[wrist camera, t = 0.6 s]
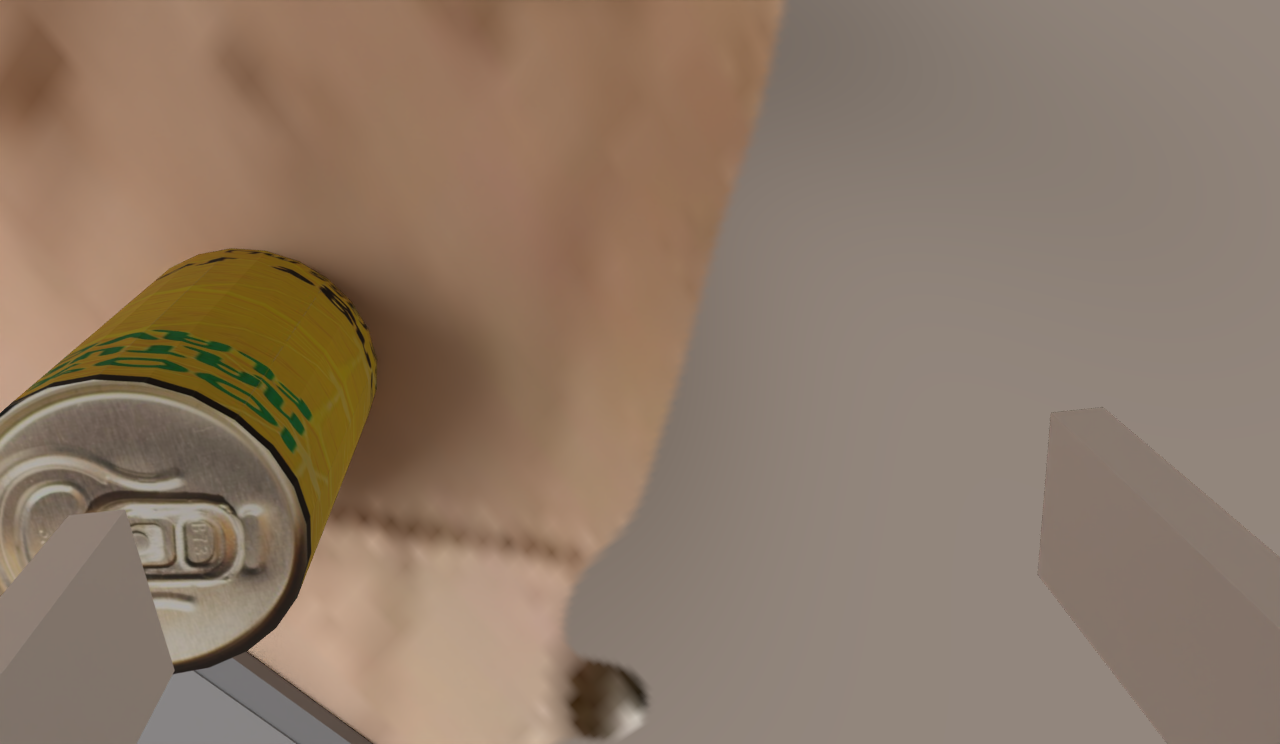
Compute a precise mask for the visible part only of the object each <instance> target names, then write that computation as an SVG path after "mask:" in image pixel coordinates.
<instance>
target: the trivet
mask: <svg viewBox="0 0 1280 744" xmlns="http://www.w3.org/2000/svg"><path fill="white" fill-rule="evenodd" d="M137 744H372V743H371V742H369V741H368V740H366V739H365V738H364V737H362V736H361V735H360V734H358V733H357V732H355V731H354V730H353V729H351V728H350V727H349V726H347V725H346V724H344V723H343V722H342V721H340V720H339V719H338V718H336V717H335V716H334V715H332V714H331V713H329V712H328V711H327V710H325V709H324V708H323V707H321V706H320V705H318V704H317V703H316V702H314V701H313V700H312V699H310V698H309V697H307V696H306V695H305V694H303V693H302V692H301V691H299V690H298V689H297V688H295V687H294V686H292V685H291V684H290V683H288V682H287V681H286V680H284V679H283V678H281V677H280V676H279V675H277V674H276V673H275V672H273V671H272V670H270V669H269V668H268V667H266V666H265V665H264V664H262V663H261V662H260V661H258V660H257V659H255V658H254V657H253V656H251V655H250V654H249V653H247V652H244V653H242V654H240V655H237V656H235V657H233V658H230V659H228V660H226V661H224V662H221V663H219V664H217V665H214V666H212V667H210V668H205V669H199V670H194V671H188V672H183V673H177V674H173V675H172V676H171V678H170V680H169V682H168V684H167V686H166V688H165V690H164V692H163V694H162V696H161V698H160V700H159V702H158V703H157V705H156V707H155V709H154V711H153V713H152V715H151V717H150V719H149V721H148V723H147V725H146V727H145V729H144V730H143V732H142V734H141V736H140V738H139V740H138V742H137Z"/></svg>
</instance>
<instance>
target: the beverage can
mask: <svg viewBox="0 0 1280 744" xmlns="http://www.w3.org/2000/svg"><path fill="white" fill-rule="evenodd" d="M376 389H377V358H376V355H375V351H374V348H373V344H372V341H371V337H370V334H369V330H368V329H367V327H366V325H365V324H364V322H363V320H362V319H361V317H360V315H359V314H358V312H357V310H356V309H355V307H354V305H353V304H352V302H351V301H350V300H349V299H348V298H347V297H346V296H345V295H344V294H343V293H342V292H341V291H340V290H339V289H338V288H337V287H336V286H335V285H334V284H332V283H331V282H330V281H329V280H328V279H327V278H325V277H324V276H322V275H320V274H319V273H317V272H315V271H314V270H312V269H310V268H309V267H307V266H305V265H304V264H302V263H300V262H299V261H295V260H292V259H289V258H286V257H283V256H280V255H277V254H274V253H270V252H267V251H259V250H245V249H226V250H221V251H215V252H210V253H204V254H199V255H197V256H195V257H192V258H190V259H188V260H186V261H184V262H182V263H180V264H178V265H176V266H174V267H172V268H170V269H169V270H167V271H166V272H165V273H164V274H163V275H162V276H160V277H159V278H158V279H157V280H156V281H154V282H153V283H152V284H151V285H150V286H149V287H147V288H146V289H145V290H144V291H143V292H142V293H140V294H139V295H138V296H137V297H136V298H135V299H133V300H132V301H131V302H130V303H129V304H127V305H126V306H125V307H124V308H123V309H122V310H120V311H119V312H118V313H117V314H116V315H115V316H113V317H112V318H111V319H110V320H109V321H107V322H106V323H105V324H104V325H103V326H102V327H100V328H99V329H98V330H97V331H96V332H95V333H93V334H92V335H91V336H90V337H89V338H88V339H86V340H85V341H84V342H83V343H82V344H80V345H79V346H78V347H77V348H76V349H75V350H73V351H72V352H71V353H70V354H69V355H68V356H66V357H65V358H64V359H63V360H62V361H60V362H59V363H58V364H57V365H56V366H55V367H53V368H52V369H51V370H50V371H49V372H48V373H46V374H45V375H44V376H43V377H42V378H41V379H39V380H38V381H37V382H36V383H35V384H33V385H32V386H31V387H30V388H29V389H28V390H26V391H25V392H24V393H23V394H22V395H21V396H19V397H18V398H17V399H16V400H15V401H13V402H12V403H11V404H10V405H9V406H8V407H6V408H5V409H4V410H3V411H2V412H1V413H0V597H1V595H2V594H3V593H4V592H5V591H6V590H7V588H8V587H9V586H10V585H11V584H12V582H13V581H14V580H15V579H16V578H17V576H18V575H19V574H20V573H21V572H22V571H23V569H24V568H25V567H26V566H27V565H28V563H29V562H30V561H31V560H32V559H33V557H34V556H35V555H36V554H37V553H38V552H39V550H40V549H41V548H42V547H43V546H44V544H45V543H46V542H47V541H48V540H49V538H50V537H51V536H52V535H53V534H54V533H55V531H56V530H57V529H58V528H59V527H60V525H61V524H62V523H63V522H64V521H65V519H66V518H67V517H68V516H69V515H77V514H86V513H96V512H105V511H115V510H124V509H125V510H126V514H127V517H128V520H129V523H130V527H131V530H132V533H133V536H134V540H135V543H136V546H137V549H138V553H139V556H140V559H141V562H142V566H143V569H144V572H145V576H146V579H147V582H148V585H149V589H150V592H151V595H152V598H153V602H154V605H155V608H156V611H157V615H158V618H159V621H160V624H161V628H162V631H163V634H164V637H165V641H166V644H167V647H168V650H169V654H170V657H171V660H172V663H173V667H174V670H175V671H174V673H173V674H177V673H183V672H188V671H194V670H199V669H205V668H210V667H212V666H214V665H217V664H219V663H221V662H224V661H226V660H228V659H230V658H233V657H235V656H237V655H240V654H242V653H244V652H246V651H248V650H249V649H250V648H251V647H253V646H254V645H255V644H256V643H258V642H259V641H260V640H261V639H263V638H264V637H265V636H266V635H268V634H269V633H270V632H271V631H273V630H274V629H275V628H276V627H277V626H278V624H279V623H280V621H281V620H282V619H283V617H284V616H285V614H286V613H287V611H288V610H289V609H290V607H291V606H292V604H293V603H294V601H295V600H296V598H297V596H298V594H299V591H300V589H301V586H302V584H303V581H304V579H305V576H306V573H307V571H308V568H309V566H310V563H311V561H312V558H313V555H314V553H315V550H316V548H317V545H318V543H319V540H320V538H321V535H322V532H323V530H324V527H325V525H326V522H327V520H328V517H329V515H330V512H331V509H332V507H333V504H334V502H335V499H336V497H337V494H338V492H339V489H340V486H341V484H342V481H343V479H344V476H345V474H346V471H347V469H348V466H349V463H350V461H351V458H352V456H353V453H354V451H355V448H356V445H357V443H358V440H359V438H360V435H361V433H362V430H363V428H364V425H365V422H366V420H367V417H368V415H369V411H370V408H371V405H372V402H373V398H374V395H375V392H376Z"/></svg>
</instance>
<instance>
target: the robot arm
mask: <svg viewBox="0 0 1280 744" xmlns="http://www.w3.org/2000/svg"><path fill="white" fill-rule="evenodd" d="M1038 576H1039V577H1040V578H1041V579H1042V581H1043V582H1044V584H1045V585H1046V586H1047V587H1048V589H1049V590H1050V591H1051V593H1052V594H1053V595H1054V597H1055V598H1056V599H1057V601H1058V602H1059V603H1060V604H1061V606H1062V607H1063V608H1064V610H1065V611H1066V612H1067V614H1068V615H1069V616H1070V617H1071V619H1072V620H1073V621H1074V623H1075V624H1076V625H1077V627H1078V628H1079V629H1080V631H1081V632H1082V633H1083V634H1084V636H1085V637H1086V638H1087V639H1088V641H1089V642H1090V643H1091V645H1092V646H1093V648H1094V649H1095V650H1096V651H1097V653H1098V654H1099V655H1100V657H1101V658H1102V659H1103V661H1104V662H1105V663H1106V665H1107V666H1108V667H1109V668H1110V670H1111V671H1112V672H1113V674H1114V675H1115V676H1116V677H1117V679H1118V680H1119V681H1120V683H1121V684H1122V685H1123V686H1124V688H1125V689H1126V691H1127V692H1128V693H1129V695H1130V696H1131V697H1132V698H1133V700H1134V701H1135V702H1136V704H1137V705H1138V706H1139V708H1140V709H1141V710H1142V712H1143V713H1144V714H1145V715H1146V717H1147V718H1148V719H1149V721H1150V722H1151V723H1152V724H1153V726H1154V727H1155V728H1156V730H1157V731H1158V732H1159V734H1160V735H1161V736H1162V738H1163V739H1164V740H1165V742H1166V743H1167V744H1280V557H1279V556H1278V555H1277V554H1275V553H1274V552H1273V551H1272V550H1271V549H1269V548H1268V547H1267V546H1266V545H1265V544H1264V543H1263V542H1261V541H1260V540H1259V539H1258V538H1257V537H1256V536H1254V535H1253V534H1252V533H1251V532H1250V531H1248V530H1247V529H1246V528H1245V527H1244V526H1242V525H1241V524H1240V523H1239V522H1238V521H1236V520H1235V519H1234V518H1233V517H1232V516H1230V515H1229V514H1228V513H1227V512H1226V511H1225V510H1223V509H1222V508H1221V507H1220V506H1219V505H1218V504H1217V503H1215V502H1214V501H1213V500H1212V499H1211V498H1210V497H1208V496H1207V495H1206V494H1205V493H1203V492H1202V491H1201V490H1200V489H1199V488H1198V487H1197V486H1195V485H1194V484H1193V483H1192V482H1191V481H1189V480H1188V479H1187V478H1186V477H1185V476H1183V475H1182V474H1181V473H1180V472H1179V471H1178V470H1176V469H1175V468H1174V467H1173V466H1172V465H1171V464H1169V463H1168V462H1167V461H1166V460H1165V459H1163V458H1162V457H1161V456H1160V455H1159V454H1157V453H1156V452H1155V451H1154V450H1153V449H1152V448H1150V447H1149V446H1148V445H1147V444H1146V443H1144V442H1143V441H1142V440H1141V439H1140V438H1139V437H1138V436H1136V435H1135V434H1134V433H1133V432H1132V431H1130V430H1129V429H1128V428H1127V427H1126V426H1125V425H1123V424H1122V423H1121V422H1120V421H1119V420H1117V419H1116V418H1115V417H1114V416H1113V415H1111V414H1110V413H1109V412H1108V411H1107V410H1106V409H1104V408H1103V407H1100V408H1091V409H1081V410H1071V411H1061V412H1053V413H1051V419H1050V430H1049V442H1048V454H1047V467H1046V479H1045V491H1044V503H1043V515H1042V527H1041V540H1040V552H1039V564H1038ZM174 671H175V670H174V667H173V663H172V660H171V657H170V654H169V650H168V647H167V644H166V641H165V637H164V634H163V631H162V628H161V624H160V621H159V618H158V615H157V611H156V608H155V605H154V602H153V598H152V595H151V592H150V589H149V585H148V582H147V579H146V576H145V572H144V569H143V566H142V562H141V559H140V556H139V553H138V549H137V546H136V543H135V540H134V536H133V533H132V530H131V527H130V523H129V520H128V517H127V514H126V510H125V509H124V510H115V511H105V512H96V513H86V514H77V515H69V516H68V517H67V518H66V519H65V521H64V522H63V523H62V524H61V525H60V527H59V528H58V529H57V530H56V531H55V533H54V534H53V535H52V536H51V537H50V538H49V540H48V541H47V542H46V543H45V544H44V546H43V547H42V548H41V549H40V550H39V552H38V553H37V554H36V555H35V556H34V557H33V559H32V560H31V561H30V562H29V563H28V565H27V566H26V567H25V568H24V569H23V571H22V572H21V573H20V574H19V575H18V576H17V578H16V579H15V580H14V581H13V582H12V584H11V585H10V586H9V587H8V588H7V590H6V591H5V592H4V593H3V594H2V595H1V597H0V744H137V742H138V740H139V738H140V736H141V734H142V732H143V730H144V729H145V727H146V725H147V723H148V721H149V719H150V717H151V715H152V713H153V711H154V709H155V707H156V705H157V703H158V702H159V700H160V698H161V696H162V694H163V692H164V690H165V688H166V686H167V684H168V682H169V680H170V678H171V676H172V675H173V673H174Z"/></svg>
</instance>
